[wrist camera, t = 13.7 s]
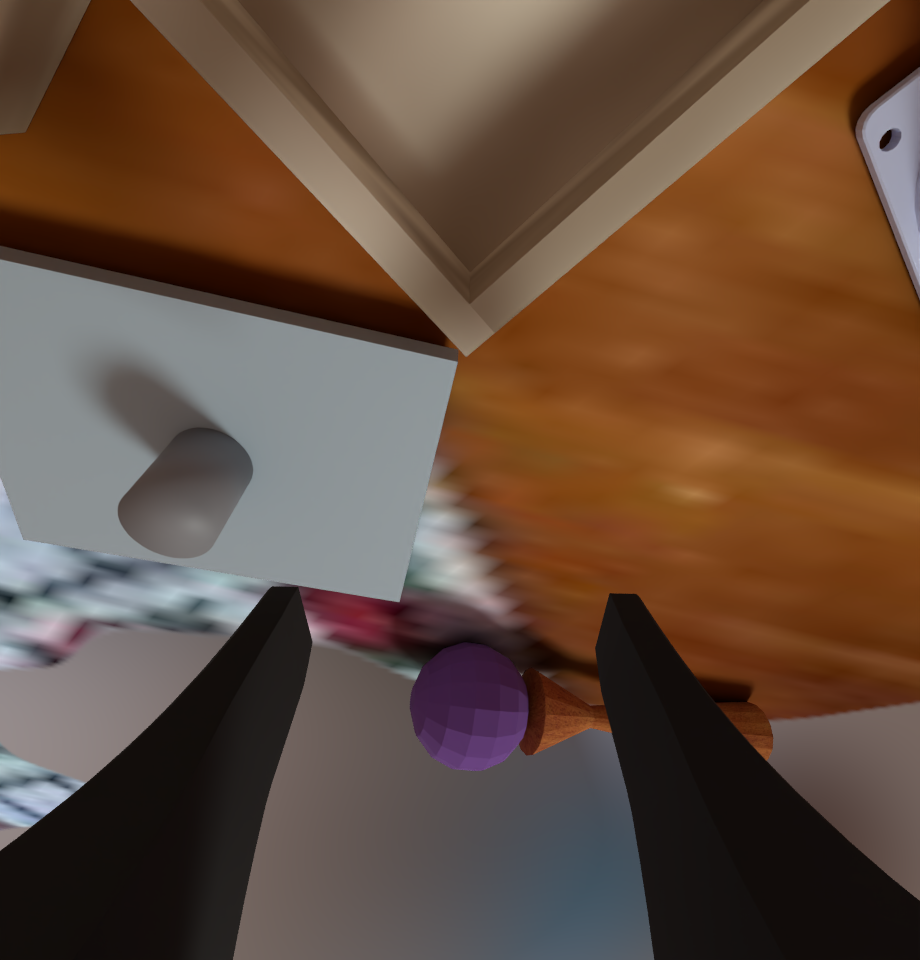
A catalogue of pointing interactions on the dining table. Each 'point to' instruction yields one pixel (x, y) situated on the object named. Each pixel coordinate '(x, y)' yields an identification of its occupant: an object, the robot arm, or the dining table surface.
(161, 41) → the dining table surface
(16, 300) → the lid
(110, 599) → the dining table surface
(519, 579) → the dining table surface
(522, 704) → the kendama
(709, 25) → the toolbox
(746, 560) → the dining table surface
